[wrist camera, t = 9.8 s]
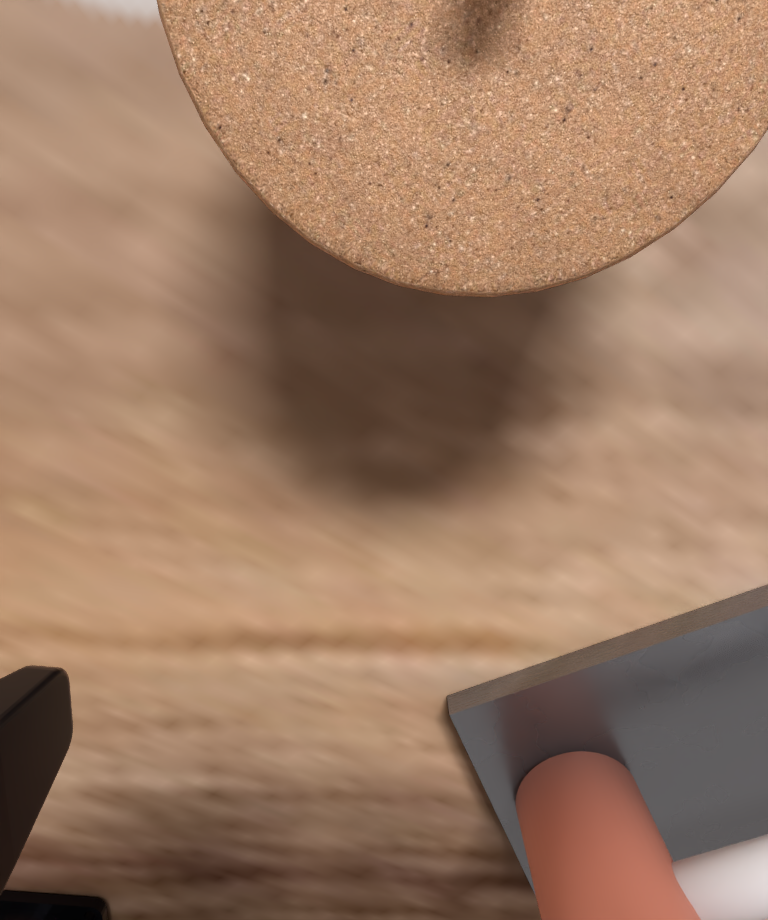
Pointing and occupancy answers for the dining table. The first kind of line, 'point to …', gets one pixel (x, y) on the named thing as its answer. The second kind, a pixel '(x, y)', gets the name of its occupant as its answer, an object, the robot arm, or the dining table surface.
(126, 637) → the dining table surface
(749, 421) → the dining table surface
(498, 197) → the lidded jar
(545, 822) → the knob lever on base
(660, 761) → the eye post
